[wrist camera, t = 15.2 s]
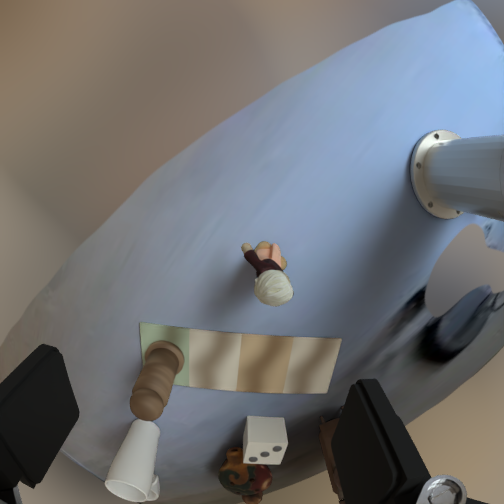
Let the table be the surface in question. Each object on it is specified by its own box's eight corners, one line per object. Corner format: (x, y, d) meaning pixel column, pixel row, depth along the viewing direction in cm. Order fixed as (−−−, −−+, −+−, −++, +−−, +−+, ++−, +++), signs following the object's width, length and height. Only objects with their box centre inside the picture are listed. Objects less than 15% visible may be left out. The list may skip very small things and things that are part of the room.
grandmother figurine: (300, 260, 37) (326, 300, 25) (281, 284, 38) (298, 333, 26) (250, 224, 36) (253, 248, 24) (231, 249, 37) (225, 285, 24)
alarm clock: (358, 439, 46) (390, 520, 27) (322, 451, 46) (344, 535, 27) (352, 390, 43) (396, 484, 23) (309, 403, 43) (337, 505, 24)
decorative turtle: (236, 482, 49) (233, 511, 41) (207, 440, 46) (199, 471, 38) (282, 476, 48) (282, 505, 40) (258, 431, 45) (256, 465, 37)
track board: (341, 338, 40) (341, 339, 40) (326, 391, 43) (326, 393, 42) (140, 321, 39) (139, 323, 38) (145, 378, 41) (144, 379, 41)
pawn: (184, 343, 39) (165, 402, 27) (184, 374, 41) (168, 436, 28) (145, 337, 39) (115, 393, 27) (148, 369, 40) (122, 427, 28)
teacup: (150, 485, 49) (145, 503, 44) (122, 469, 48) (116, 487, 43) (175, 475, 48) (171, 494, 43) (144, 458, 46) (139, 477, 41)
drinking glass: (132, 435, 45) (110, 496, 30) (125, 411, 43) (98, 475, 28) (167, 441, 45) (152, 506, 30) (162, 417, 43) (143, 486, 29)
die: (283, 417, 44) (288, 443, 38) (277, 439, 45) (280, 465, 39) (247, 415, 43) (248, 442, 37) (242, 437, 45) (243, 463, 39)
